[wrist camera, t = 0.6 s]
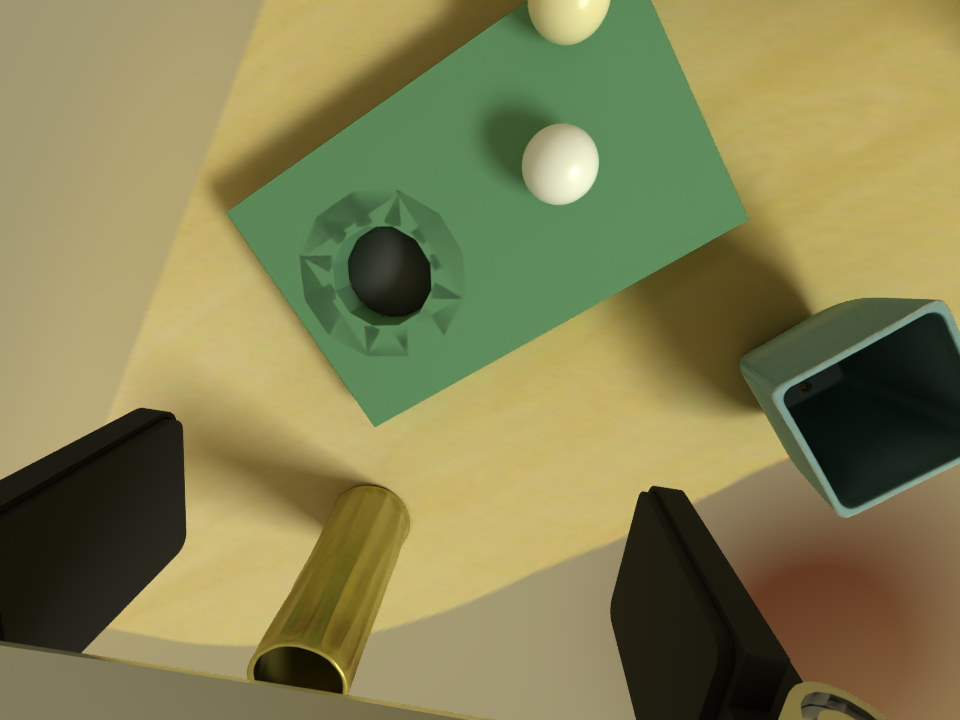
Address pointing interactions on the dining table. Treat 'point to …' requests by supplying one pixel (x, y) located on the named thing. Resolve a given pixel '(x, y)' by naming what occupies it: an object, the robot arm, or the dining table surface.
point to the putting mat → (489, 205)
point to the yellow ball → (567, 19)
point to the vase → (335, 595)
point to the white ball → (560, 164)
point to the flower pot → (864, 397)
